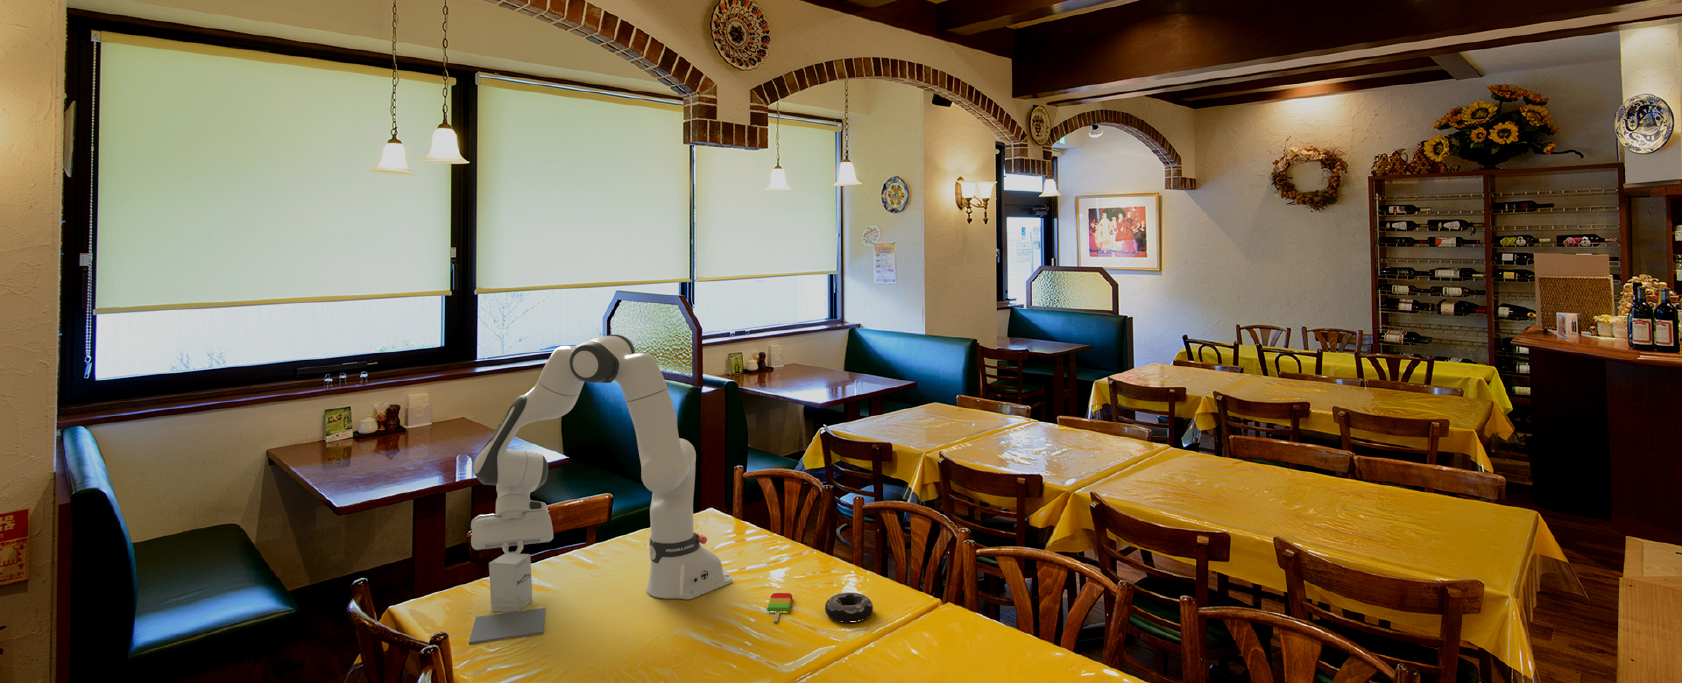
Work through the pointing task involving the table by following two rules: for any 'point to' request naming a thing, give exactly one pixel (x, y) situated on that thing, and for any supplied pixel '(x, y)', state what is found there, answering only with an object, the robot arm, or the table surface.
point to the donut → (848, 607)
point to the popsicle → (779, 603)
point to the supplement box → (510, 582)
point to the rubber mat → (507, 625)
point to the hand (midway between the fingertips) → (512, 559)
